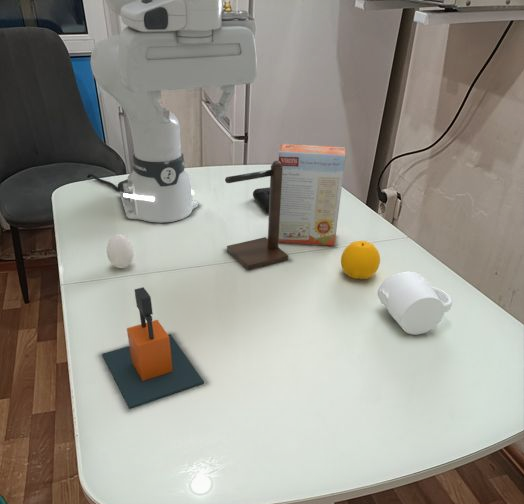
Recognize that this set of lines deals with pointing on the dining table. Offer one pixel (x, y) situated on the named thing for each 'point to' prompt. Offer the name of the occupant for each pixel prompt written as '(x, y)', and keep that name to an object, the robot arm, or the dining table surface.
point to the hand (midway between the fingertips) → (192, 119)
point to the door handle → (262, 197)
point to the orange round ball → (360, 260)
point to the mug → (414, 302)
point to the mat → (155, 387)
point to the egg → (120, 251)
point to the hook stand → (263, 248)
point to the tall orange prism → (149, 341)
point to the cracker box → (310, 193)
